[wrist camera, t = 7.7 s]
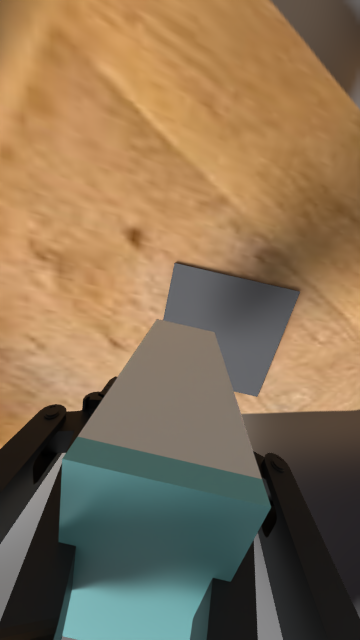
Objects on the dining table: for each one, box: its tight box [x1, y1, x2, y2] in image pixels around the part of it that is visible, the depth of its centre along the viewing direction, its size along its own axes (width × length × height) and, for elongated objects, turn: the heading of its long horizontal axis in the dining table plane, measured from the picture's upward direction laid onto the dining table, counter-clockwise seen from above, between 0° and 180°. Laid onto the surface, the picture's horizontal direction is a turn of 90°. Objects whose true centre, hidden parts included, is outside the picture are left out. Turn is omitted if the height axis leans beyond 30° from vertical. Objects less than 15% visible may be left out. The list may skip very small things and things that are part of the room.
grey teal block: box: [59, 319, 271, 640], centre depth 11 cm, size 9×5×12 cm, turn 168°
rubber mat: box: [163, 263, 300, 396], centre depth 29 cm, size 18×18×1 cm
